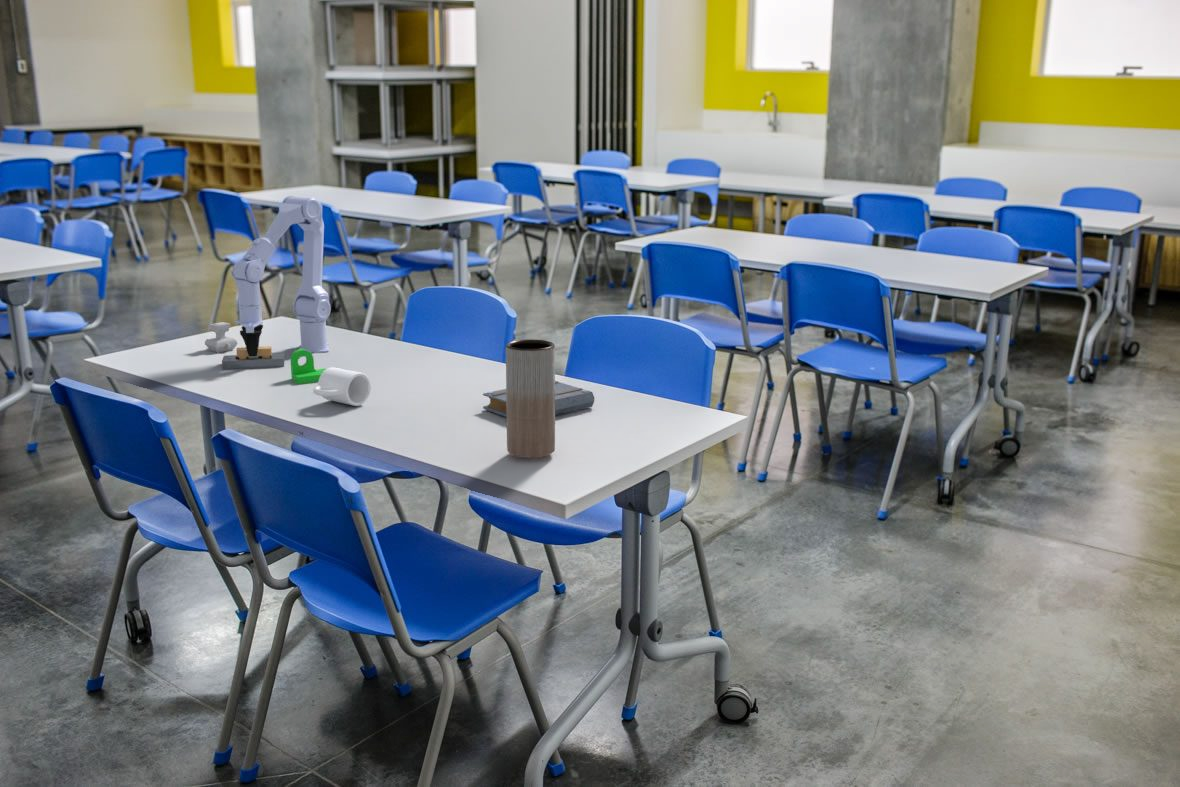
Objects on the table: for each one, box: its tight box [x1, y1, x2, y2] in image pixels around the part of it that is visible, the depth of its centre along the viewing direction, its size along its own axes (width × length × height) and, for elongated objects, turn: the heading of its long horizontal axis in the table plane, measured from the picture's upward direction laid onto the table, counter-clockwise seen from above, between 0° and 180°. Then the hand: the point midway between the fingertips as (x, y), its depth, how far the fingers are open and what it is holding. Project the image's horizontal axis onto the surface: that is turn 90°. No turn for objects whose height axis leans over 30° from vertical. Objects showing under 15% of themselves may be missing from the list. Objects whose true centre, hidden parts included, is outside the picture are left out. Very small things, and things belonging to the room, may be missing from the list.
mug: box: [312, 366, 372, 407], centre depth 265 cm, size 12×10×8 cm
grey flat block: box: [221, 352, 286, 371], centre depth 303 cm, size 7×16×2 cm, turn 103°
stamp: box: [204, 321, 238, 353], centre depth 318 cm, size 9×7×8 cm
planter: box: [505, 339, 556, 459], centre depth 228 cm, size 10×10×23 cm
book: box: [482, 380, 595, 418], centre depth 263 cm, size 21×16×5 cm
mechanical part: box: [290, 348, 329, 385], centre depth 289 cm, size 12×6×8 cm, turn 120°
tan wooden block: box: [236, 345, 273, 359], centre depth 302 cm, size 3×9×5 cm, turn 104°
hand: (253, 353), depth 302 cm, fingers open, 5 cm apart
